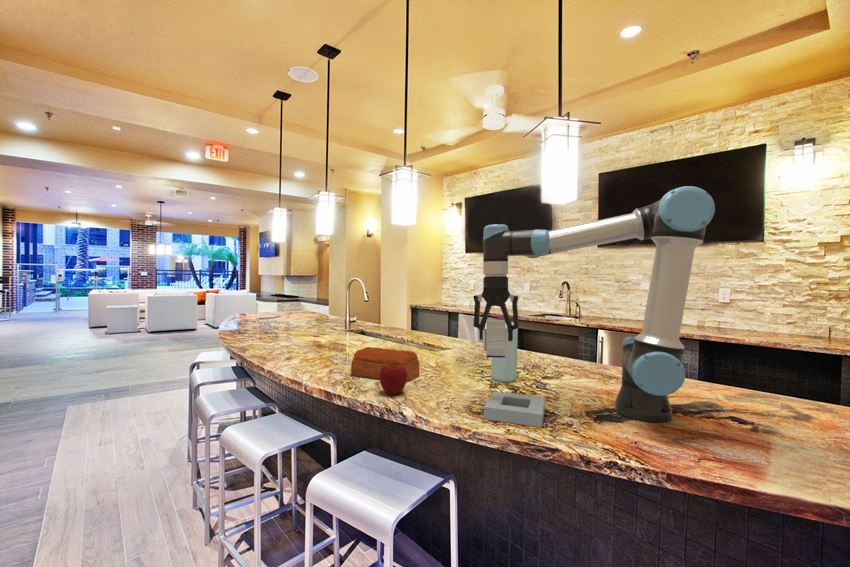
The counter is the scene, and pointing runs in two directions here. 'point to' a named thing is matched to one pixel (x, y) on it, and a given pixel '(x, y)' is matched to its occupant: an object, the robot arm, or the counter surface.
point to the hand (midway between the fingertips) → (496, 350)
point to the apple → (393, 378)
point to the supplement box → (495, 337)
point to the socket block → (515, 409)
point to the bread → (383, 362)
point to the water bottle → (506, 360)
